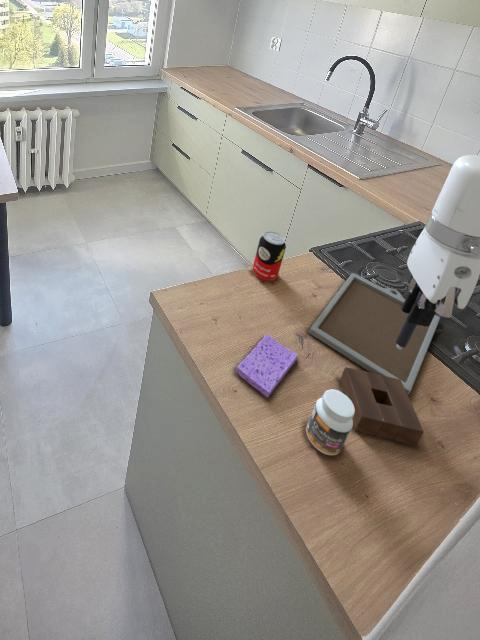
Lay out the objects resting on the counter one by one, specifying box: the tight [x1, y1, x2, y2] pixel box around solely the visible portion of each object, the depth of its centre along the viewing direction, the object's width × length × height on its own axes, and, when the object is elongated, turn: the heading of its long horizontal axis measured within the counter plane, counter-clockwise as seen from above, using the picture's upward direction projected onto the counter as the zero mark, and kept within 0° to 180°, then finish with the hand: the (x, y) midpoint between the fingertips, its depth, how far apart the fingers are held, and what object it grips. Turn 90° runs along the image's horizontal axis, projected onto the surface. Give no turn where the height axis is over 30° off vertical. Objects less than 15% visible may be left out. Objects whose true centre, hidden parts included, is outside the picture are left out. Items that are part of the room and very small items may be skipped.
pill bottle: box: [305, 389, 355, 456], centre depth 71 cm, size 6×6×10 cm
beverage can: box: [252, 231, 287, 281], centre depth 108 cm, size 6×6×12 cm
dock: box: [339, 366, 425, 446], centre depth 78 cm, size 10×10×4 cm
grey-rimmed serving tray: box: [308, 272, 441, 396], centre depth 97 cm, size 19×2×30 cm
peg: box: [396, 290, 429, 349], centre depth 73 cm, size 2×2×13 cm
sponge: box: [235, 333, 299, 398], centre depth 85 cm, size 7×13×2 cm, turn 132°
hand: (414, 317), depth 72 cm, fingers closed on peg, 1 cm apart
